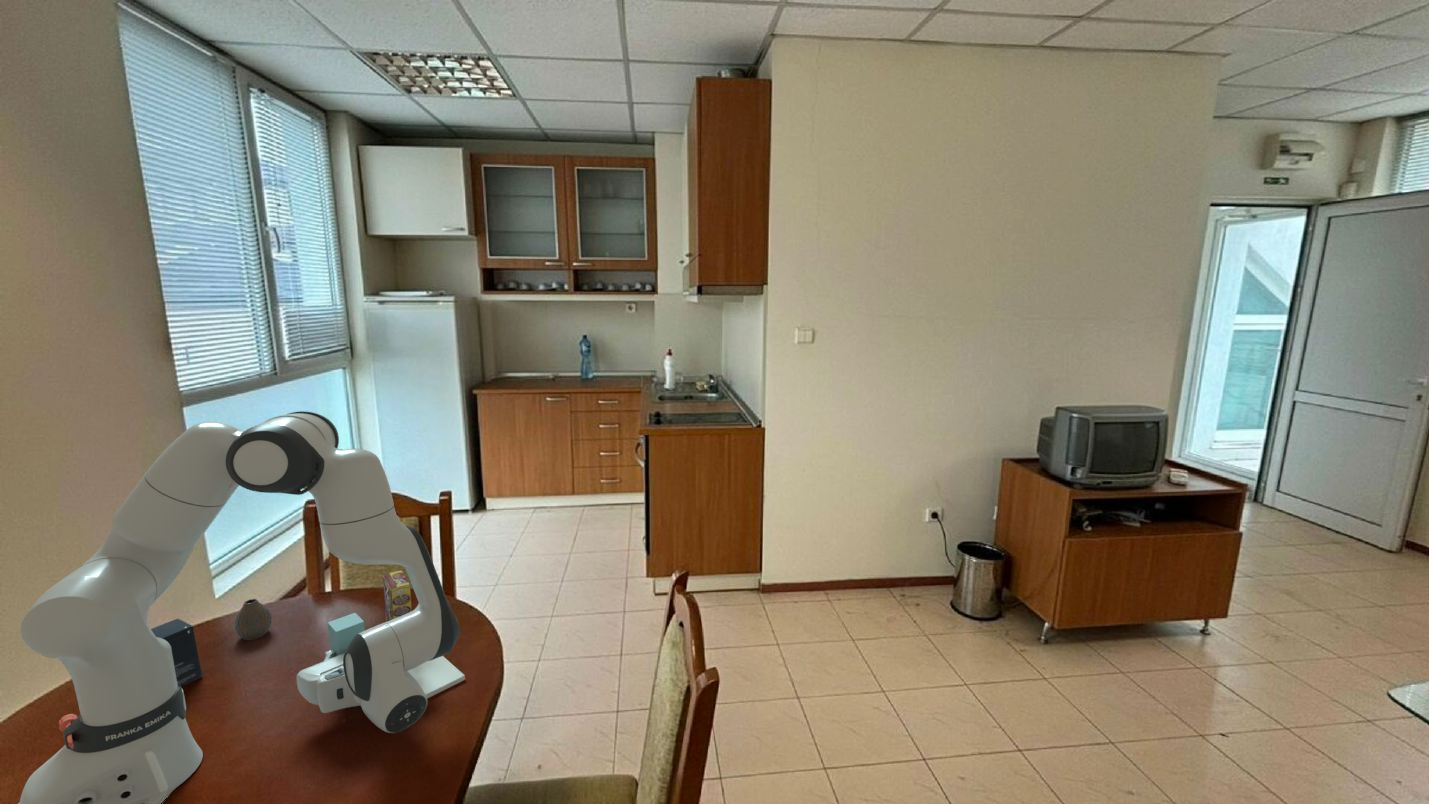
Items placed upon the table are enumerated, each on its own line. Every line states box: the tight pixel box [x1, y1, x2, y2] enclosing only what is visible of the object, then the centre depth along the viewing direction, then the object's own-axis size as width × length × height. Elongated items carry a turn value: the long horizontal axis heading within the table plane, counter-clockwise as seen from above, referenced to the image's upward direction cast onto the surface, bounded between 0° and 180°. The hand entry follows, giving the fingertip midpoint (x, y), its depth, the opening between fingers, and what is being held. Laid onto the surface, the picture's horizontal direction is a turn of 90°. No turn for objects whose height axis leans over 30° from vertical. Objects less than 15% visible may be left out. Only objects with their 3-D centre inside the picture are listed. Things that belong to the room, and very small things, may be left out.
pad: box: [408, 655, 466, 699], centre depth 121 cm, size 12×12×1 cm
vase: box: [233, 598, 273, 641], centre depth 135 cm, size 7×7×9 cm
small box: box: [151, 618, 204, 688], centre depth 116 cm, size 13×7×12 cm, turn 154°
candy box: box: [382, 570, 413, 622], centre depth 134 cm, size 9×4×15 cm, turn 39°
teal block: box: [327, 612, 366, 656], centre depth 119 cm, size 5×5×14 cm
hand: (347, 646), depth 119 cm, fingers closed on teal block, 5 cm apart
